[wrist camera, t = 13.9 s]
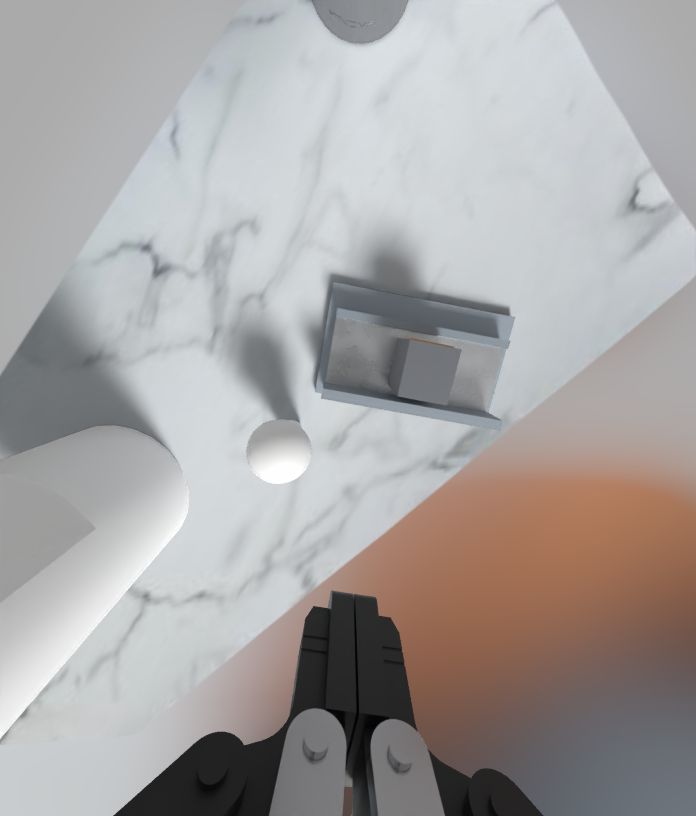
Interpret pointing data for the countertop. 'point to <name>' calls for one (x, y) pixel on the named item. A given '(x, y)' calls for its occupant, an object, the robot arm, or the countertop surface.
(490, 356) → the plate
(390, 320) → the grey stepped stand
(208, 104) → the countertop surface
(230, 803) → the robot arm
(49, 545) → the cylinder
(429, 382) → the block
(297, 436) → the lightbulb
